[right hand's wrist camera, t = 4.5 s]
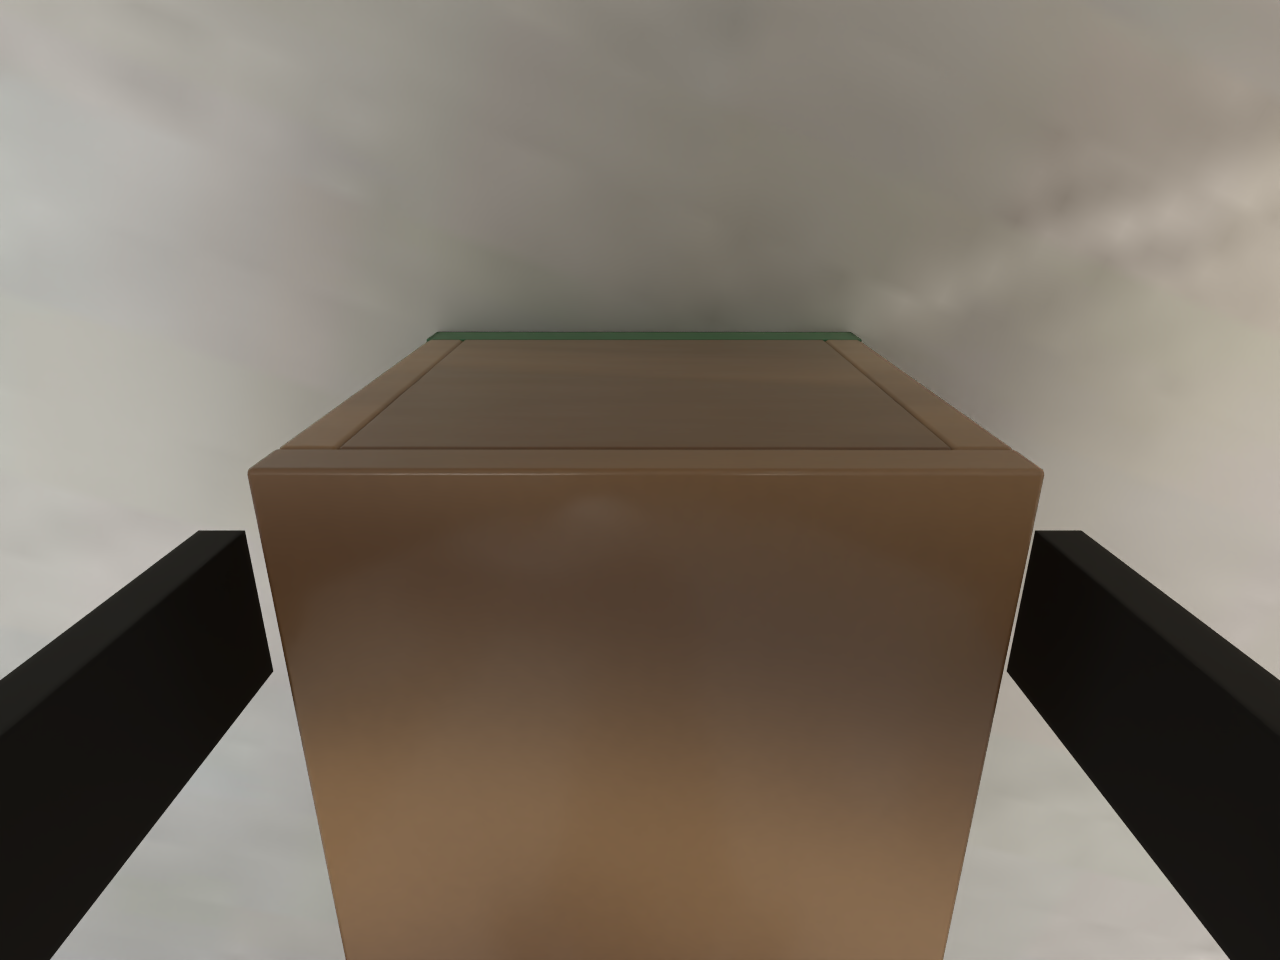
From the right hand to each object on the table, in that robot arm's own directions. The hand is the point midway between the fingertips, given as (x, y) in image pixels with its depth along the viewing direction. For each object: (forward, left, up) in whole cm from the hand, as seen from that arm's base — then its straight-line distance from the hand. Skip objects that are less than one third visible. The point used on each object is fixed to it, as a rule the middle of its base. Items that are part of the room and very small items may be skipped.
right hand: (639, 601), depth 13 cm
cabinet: (+5, +5, -7) cm, 10 cm away
